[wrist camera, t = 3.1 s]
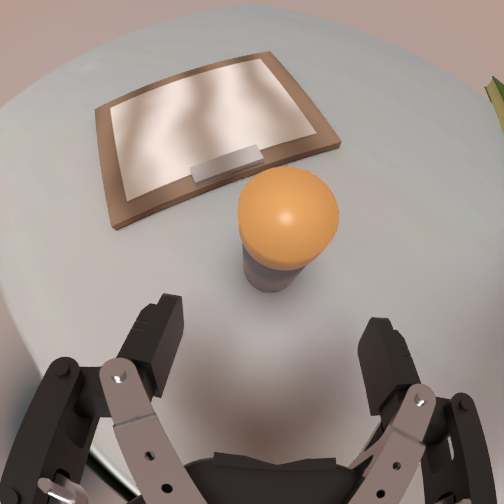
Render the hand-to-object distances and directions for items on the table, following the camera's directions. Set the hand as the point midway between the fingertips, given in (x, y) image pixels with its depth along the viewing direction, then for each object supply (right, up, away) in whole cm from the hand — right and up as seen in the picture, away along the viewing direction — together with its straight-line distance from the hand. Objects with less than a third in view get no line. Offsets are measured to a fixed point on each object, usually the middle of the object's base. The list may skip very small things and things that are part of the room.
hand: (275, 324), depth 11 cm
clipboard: (-6, +16, +14) cm, 22 cm away
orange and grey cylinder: (0, +2, +11) cm, 11 cm away
